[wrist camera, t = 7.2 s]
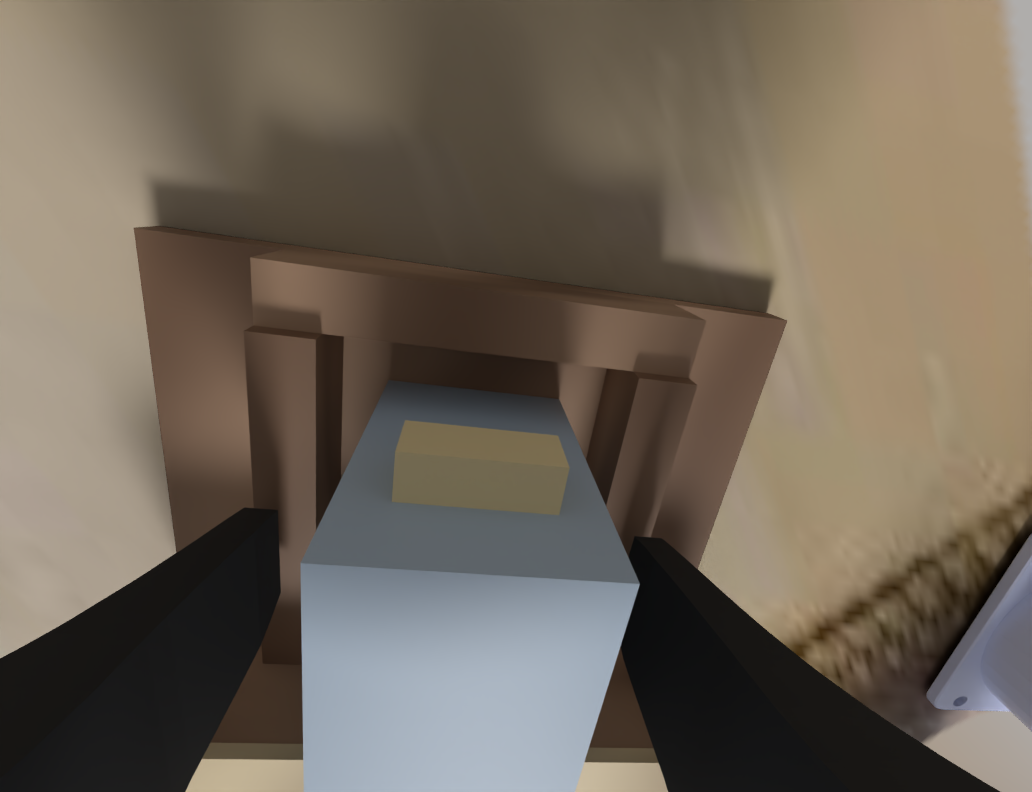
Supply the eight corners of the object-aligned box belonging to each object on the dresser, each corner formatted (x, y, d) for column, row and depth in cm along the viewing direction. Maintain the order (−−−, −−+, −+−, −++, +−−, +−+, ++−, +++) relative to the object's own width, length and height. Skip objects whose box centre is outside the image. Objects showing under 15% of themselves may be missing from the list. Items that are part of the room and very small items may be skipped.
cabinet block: (565, 367, 11) (656, 531, 6) (520, 592, 14) (552, 862, 8) (390, 346, 11) (300, 503, 5) (376, 584, 13) (304, 866, 8)
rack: (767, 313, 12) (949, 381, 7) (659, 626, 16) (735, 799, 11) (159, 226, 10) (-101, 244, 6) (201, 605, 14) (69, 801, 9)
